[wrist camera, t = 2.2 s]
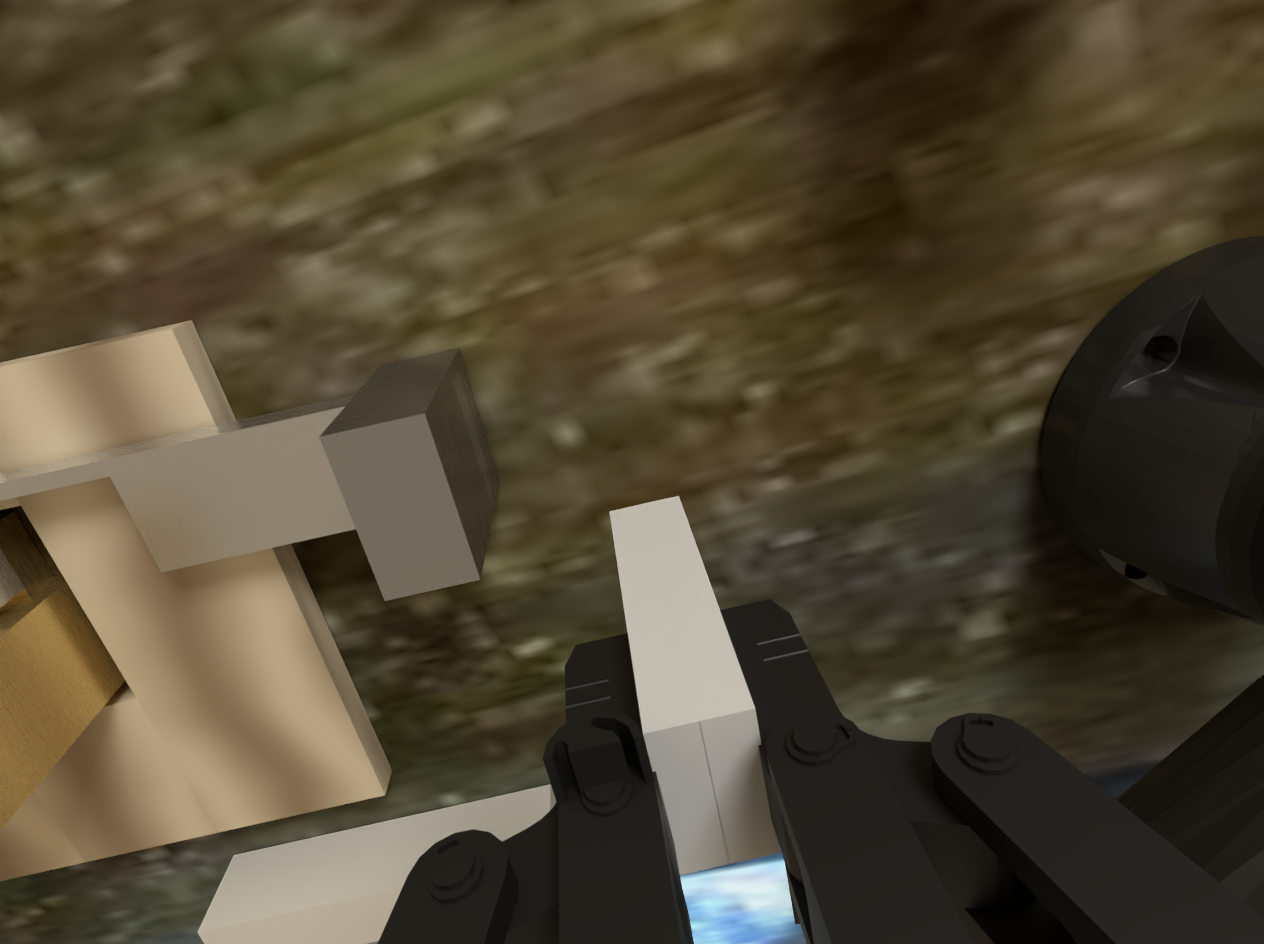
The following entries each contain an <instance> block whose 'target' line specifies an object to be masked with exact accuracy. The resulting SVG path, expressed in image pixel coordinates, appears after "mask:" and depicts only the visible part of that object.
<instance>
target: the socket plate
mask: <svg viewBox="0 0 1264 944" xmlns="http://www.w3.org/2000/svg"><path fill="white" fill-rule="evenodd" d="M233 421H236V419H235V416H234V414H233V412H232V410H231V407H230V405H229V403H228V401H227V398H226V396H225V394H224V392H223V389H222V387H221V385H220V383H219V380H218V378H217V376H216V374H215V371H214V369H213V367H212V365H211V362H210V360H209V358H208V356H207V353H206V351H205V349H204V347H203V344H202V342H201V340H200V338H199V335H198V333H197V331H196V329H195V326H194V324H193V322H192V320H190V321H186V322H181V323H177V324H172V325H168V326H163V327H159V328H154V329H150V330H145V331H141V332H136V333H132V334H127V335H123V336H118V337H114V338H109V339H105V340H100V341H96V342H91V343H87V344H82V345H78V346H73V347H69V348H64V349H60V350H55V351H51V352H46V353H42V354H37V355H33V356H28V357H24V358H19V359H15V360H10V361H6V362H1V363H0V473H4V472H9V471H13V470H18V469H22V468H27V467H31V466H36V465H40V464H45V463H49V462H54V461H58V460H63V459H67V458H72V457H76V456H81V455H85V454H90V453H94V452H99V451H103V450H108V449H112V448H117V447H121V446H126V445H130V444H135V443H139V442H144V441H148V440H153V439H157V438H162V437H166V436H170V435H175V434H179V433H184V432H188V431H193V430H197V429H202V428H206V427H211V426H215V425H220V424H224V423H229V422H233ZM17 506H21V507H22V508H23V510H24V512H25V513H26V515H27V517H28V518H29V520H30V522H31V523H32V525H33V527H34V528H35V530H36V532H37V533H38V535H39V537H40V538H41V540H42V542H43V543H44V545H45V547H46V548H47V550H48V552H49V553H50V555H51V557H52V558H53V560H54V562H55V563H56V565H57V567H58V568H59V570H60V572H61V573H62V575H63V577H64V578H65V580H66V582H67V583H68V585H69V587H70V589H71V590H72V592H73V594H74V595H75V597H76V599H77V600H78V602H79V604H80V605H81V607H82V609H83V610H84V612H85V614H86V615H87V617H88V619H89V620H90V622H91V624H92V625H93V627H94V629H95V630H96V632H97V634H98V635H99V637H100V639H101V640H102V642H103V644H104V645H105V647H106V649H107V650H108V652H109V654H110V655H111V657H112V659H113V660H114V662H115V664H116V665H117V667H118V669H119V670H120V672H121V674H122V675H123V677H124V679H125V680H126V682H127V683H124V684H122V685H121V686H120V687H119V689H118V690H117V691H116V692H115V693H114V695H113V696H112V697H111V698H110V699H109V701H108V702H107V703H106V704H105V706H104V707H103V708H102V709H101V710H100V712H99V713H98V714H97V715H96V716H95V718H94V719H93V720H92V721H91V722H90V724H89V725H88V726H87V727H86V728H85V730H84V731H83V732H82V733H81V734H80V736H79V737H78V738H77V739H76V740H75V742H74V743H73V744H72V745H71V746H70V748H69V749H68V750H67V751H66V752H65V754H64V755H63V756H62V757H61V758H60V760H59V761H58V762H57V763H56V764H55V766H54V767H53V768H52V769H51V770H50V772H49V773H48V774H47V775H46V776H45V778H44V779H43V780H42V781H41V782H40V784H39V785H38V786H37V787H36V788H35V790H34V791H33V792H32V793H31V794H30V796H29V797H28V798H27V799H26V800H25V802H24V803H23V804H22V805H21V806H20V808H19V809H18V810H17V811H16V812H15V814H14V815H13V816H12V817H11V818H10V820H9V821H8V822H7V823H6V824H5V826H4V827H3V828H2V829H1V830H0V881H4V880H9V879H13V878H17V877H22V876H26V875H31V874H35V873H40V872H44V871H49V870H53V869H58V868H62V867H67V866H71V865H76V864H80V863H85V862H89V861H94V860H98V859H102V858H107V857H111V856H116V855H120V854H125V853H129V852H134V851H138V850H143V849H147V848H152V847H156V846H161V845H165V844H170V843H174V842H178V841H183V840H187V839H192V838H196V837H201V836H205V835H210V834H214V833H219V832H223V831H228V830H232V829H237V828H241V827H246V826H250V825H255V824H259V823H263V822H268V821H272V820H277V819H281V818H286V817H290V816H295V815H299V814H304V813H308V812H313V811H317V810H322V809H326V808H331V807H335V806H339V805H344V804H348V803H353V802H357V801H362V800H366V799H371V798H375V797H380V796H384V795H385V794H386V791H387V787H388V784H389V780H390V776H391V773H392V769H391V767H390V765H389V762H388V760H387V758H386V756H385V753H384V751H383V749H382V747H381V744H380V742H379V740H378V738H377V736H376V733H375V731H374V729H373V727H372V724H371V722H370V720H369V718H368V715H367V713H366V711H365V709H364V706H363V704H362V702H361V700H360V697H359V695H358V693H357V691H356V688H355V686H354V684H353V682H352V679H351V677H350V675H349V673H348V670H347V668H346V666H345V664H344V661H343V659H342V657H341V655H340V652H339V650H338V648H337V646H336V643H335V641H334V639H333V637H332V634H331V632H330V630H329V628H328V625H327V623H326V621H325V619H324V616H323V614H322V612H321V610H320V607H319V605H318V603H317V601H316V598H315V596H314V594H313V592H312V589H311V587H310V585H309V583H308V580H307V578H306V576H305V574H304V571H303V569H302V567H301V565H300V562H299V560H298V558H297V556H296V553H295V551H294V549H293V547H292V544H287V545H282V546H278V547H273V548H269V549H265V550H260V551H256V552H251V553H247V554H242V555H238V556H233V557H229V558H224V559H220V560H215V561H211V562H206V563H202V564H197V565H193V566H188V567H184V568H179V569H175V570H170V571H166V572H161V571H160V569H159V567H158V566H157V564H156V562H155V560H154V558H153V556H152V554H151V553H150V551H149V549H148V547H147V545H146V543H145V541H144V539H143V538H142V536H141V534H140V532H139V530H138V528H137V526H136V525H135V523H134V521H133V519H132V517H131V515H130V513H129V511H128V510H127V508H126V506H125V504H124V502H123V500H122V498H121V497H120V495H119V493H118V491H117V489H116V487H115V485H114V483H113V482H112V480H111V478H110V477H105V478H101V479H96V480H92V481H87V482H83V483H78V484H74V485H69V486H65V487H60V488H56V489H51V490H47V491H42V492H38V493H33V494H29V495H24V496H20V497H15V498H11V499H6V500H2V501H0V510H3V509H8V508H12V507H17Z"/></svg>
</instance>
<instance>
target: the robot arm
mask: <svg viewBox="0 0 1264 944" xmlns="http://www.w3.org/2000/svg"><path fill="white" fill-rule="evenodd" d="M1041 474H1042V483H1043V488H1044V493H1045V496H1046V500H1047V503H1048V506H1049V508H1050V511H1051V513H1052V515H1053V517H1054V519H1055V521H1056V522H1057V524H1058V526H1059V527H1060V529H1061V530H1062V531H1063V533H1064V534H1065V535H1066V536H1067V538H1068V539H1069V540H1070V541H1071V542H1072V543H1073V544H1074V545H1076V546H1077V547H1078V548H1079V549H1080V550H1082V551H1083V552H1084V553H1085V554H1087V555H1088V556H1089V557H1091V558H1092V559H1093V560H1095V561H1096V562H1097V563H1099V564H1100V565H1101V566H1103V567H1104V568H1105V569H1107V570H1108V571H1110V572H1111V573H1113V574H1114V575H1116V576H1117V577H1119V578H1121V579H1122V580H1124V581H1126V582H1128V583H1130V584H1132V585H1134V586H1137V587H1139V588H1141V589H1144V590H1147V591H1150V592H1153V593H1156V594H1160V595H1164V596H1168V597H1171V598H1173V599H1176V600H1179V601H1183V602H1186V603H1189V604H1192V605H1196V606H1199V607H1202V608H1206V609H1209V610H1212V611H1216V612H1219V613H1222V614H1226V615H1229V616H1232V617H1235V618H1239V619H1242V620H1245V621H1249V622H1252V623H1255V624H1259V625H1262V626H1264V236H1257V237H1248V238H1243V239H1237V240H1233V241H1229V242H1225V243H1221V244H1218V245H1215V246H1212V247H1209V248H1206V249H1204V250H1201V251H1199V252H1197V253H1194V254H1192V255H1190V256H1188V257H1186V258H1184V259H1182V260H1179V261H1178V262H1176V263H1174V264H1172V265H1170V266H1169V267H1167V268H1165V269H1163V270H1162V271H1160V272H1159V273H1157V274H1156V275H1154V276H1153V277H1151V278H1150V279H1148V280H1147V281H1146V282H1144V283H1143V284H1142V285H1140V286H1139V287H1138V288H1136V289H1135V290H1134V291H1133V292H1131V293H1130V294H1129V295H1128V296H1127V297H1125V298H1124V299H1123V300H1122V301H1121V302H1120V303H1119V304H1118V305H1117V306H1116V307H1115V308H1114V309H1113V310H1112V311H1111V312H1110V313H1109V314H1108V315H1107V316H1106V317H1105V318H1104V319H1103V320H1102V321H1101V322H1100V324H1099V325H1098V326H1097V327H1096V328H1095V329H1094V330H1093V332H1092V333H1091V334H1090V336H1089V337H1088V338H1087V339H1086V341H1085V342H1084V343H1083V345H1082V346H1081V348H1080V349H1079V351H1078V352H1077V354H1076V355H1075V357H1074V358H1073V360H1072V362H1071V363H1070V365H1069V367H1068V368H1067V370H1066V372H1065V374H1064V376H1063V378H1062V380H1061V382H1060V384H1059V386H1058V389H1057V391H1056V393H1055V395H1054V398H1053V401H1052V404H1051V406H1050V409H1049V413H1048V416H1047V420H1046V424H1045V429H1044V433H1043V440H1042V448H1041ZM609 512H610V518H611V525H612V532H613V538H614V545H615V552H616V558H617V565H618V571H619V578H620V585H621V591H622V598H623V605H624V611H625V618H626V625H627V631H628V633H627V634H623V635H618V636H614V637H609V638H605V639H600V640H596V641H592V642H587V643H583V644H578V645H576V646H575V648H574V650H573V652H572V654H571V656H570V658H569V660H568V661H567V663H566V665H565V688H566V724H565V725H563V726H562V727H561V728H559V729H558V730H557V731H556V732H555V734H554V735H553V736H552V738H551V739H550V740H549V742H548V743H547V745H546V749H545V753H544V757H543V761H544V764H545V767H546V769H547V772H548V775H549V778H550V781H551V784H552V787H553V790H554V793H555V796H556V799H557V803H556V804H555V805H554V807H553V808H552V809H551V810H550V811H549V812H548V813H547V814H546V815H545V816H544V817H543V818H542V819H541V820H539V821H538V822H536V823H535V824H533V825H532V826H530V827H528V828H527V829H525V830H523V831H521V832H519V833H517V834H515V835H514V836H512V837H510V838H508V839H506V840H504V841H501V840H499V839H498V838H497V837H496V836H494V835H493V834H492V833H490V832H486V831H480V830H475V829H472V830H467V831H462V832H457V833H453V834H451V835H450V836H448V837H446V838H444V839H442V840H440V841H438V842H436V843H435V844H434V845H433V846H431V847H430V848H429V849H428V850H427V851H426V852H425V853H424V854H423V855H421V856H420V857H419V859H418V860H417V862H416V863H415V865H414V867H413V868H412V870H411V871H410V873H409V874H408V876H407V878H406V881H405V883H404V885H403V887H402V890H401V892H400V894H399V896H398V899H397V901H396V903H395V905H394V908H393V910H392V912H391V914H390V917H389V919H388V921H387V923H386V926H385V928H384V930H383V932H382V935H381V937H380V939H379V941H378V944H694V942H693V937H692V931H691V925H690V920H689V914H688V910H687V906H686V902H685V898H684V894H683V890H682V885H681V880H680V875H684V874H688V873H692V872H697V871H701V870H705V869H710V868H714V867H719V866H723V865H727V864H732V863H736V862H740V861H745V860H749V859H754V858H758V857H762V856H767V855H771V854H775V853H780V849H779V845H780V848H781V852H782V855H783V858H784V861H785V865H786V871H787V877H788V883H789V889H790V895H791V901H792V907H793V913H794V919H795V924H801V927H802V930H803V933H804V936H805V939H806V943H807V944H973V943H974V944H1264V675H1263V676H1261V678H1262V679H1261V678H1258V679H1257V680H1256V681H1255V682H1254V683H1252V684H1251V685H1250V686H1249V687H1248V688H1247V689H1245V690H1244V691H1243V692H1242V693H1241V694H1240V695H1238V696H1237V697H1236V698H1235V699H1234V700H1233V701H1231V702H1230V703H1229V704H1228V705H1227V706H1226V707H1224V708H1223V709H1222V710H1221V711H1220V712H1219V713H1217V714H1216V715H1215V716H1214V717H1213V718H1212V719H1210V720H1209V721H1208V722H1207V723H1206V724H1205V725H1203V726H1202V727H1201V728H1200V729H1199V730H1198V731H1196V732H1195V733H1194V734H1193V735H1192V736H1191V737H1189V738H1188V739H1187V740H1186V741H1185V742H1184V743H1182V744H1181V745H1180V746H1179V747H1178V748H1177V749H1175V750H1174V751H1173V752H1172V753H1171V754H1170V755H1168V756H1167V757H1166V758H1165V759H1164V760H1162V761H1161V762H1160V763H1159V764H1158V765H1156V766H1155V767H1154V768H1153V769H1152V770H1150V771H1149V772H1148V773H1147V774H1146V775H1145V776H1143V777H1142V778H1141V779H1140V780H1139V781H1137V782H1136V783H1135V784H1134V785H1133V786H1131V787H1130V788H1129V789H1128V790H1127V791H1125V792H1124V793H1123V794H1122V795H1121V796H1119V797H1118V798H1117V799H1114V798H1113V797H1112V796H1111V795H1109V794H1108V793H1107V792H1106V791H1104V790H1103V789H1102V788H1101V787H1099V786H1098V785H1097V784H1096V783H1094V782H1093V781H1092V780H1091V779H1089V778H1088V777H1087V776H1086V775H1084V774H1083V773H1082V772H1081V771H1079V770H1078V769H1077V768H1076V767H1074V766H1073V765H1072V764H1071V763H1069V762H1068V761H1067V760H1066V759H1064V758H1063V757H1062V756H1061V755H1059V754H1058V753H1057V752H1056V751H1054V750H1053V749H1052V748H1051V747H1049V746H1048V745H1047V744H1046V743H1044V742H1043V741H1042V740H1041V739H1040V738H1038V737H1037V736H1036V735H1035V734H1033V733H1032V732H1031V731H1029V730H1028V729H1026V728H1024V727H1023V726H1021V725H1019V724H1017V723H1016V722H1014V721H1012V720H1010V719H1006V718H1003V717H999V716H996V715H992V714H976V713H968V714H964V715H960V716H956V717H953V718H950V719H948V720H947V721H946V722H944V723H943V724H941V725H940V726H939V727H937V729H936V731H935V733H934V735H933V737H932V739H931V742H914V741H896V740H888V739H882V738H879V737H875V736H872V735H869V734H867V733H865V732H863V731H861V730H859V729H858V727H857V726H856V725H855V724H854V723H853V722H852V721H850V720H848V719H846V718H845V717H844V716H843V715H842V714H841V712H840V711H839V709H838V707H837V705H836V703H835V701H834V699H833V698H832V696H831V694H830V692H829V690H828V688H827V686H826V684H825V682H824V680H823V678H822V676H821V674H820V672H819V670H818V668H817V666H816V664H815V662H814V660H813V658H812V656H811V654H810V652H808V649H807V646H806V644H805V643H804V641H803V639H802V637H801V636H800V634H799V631H798V629H797V627H796V625H795V623H794V621H793V619H792V617H791V615H790V613H789V612H787V611H786V610H784V609H783V608H781V607H780V606H779V605H777V604H776V603H774V602H773V601H772V600H770V599H768V600H764V601H760V602H755V603H751V604H746V605H742V606H737V607H733V608H729V609H724V610H720V609H719V606H718V604H717V601H716V598H715V595H714V592H713V590H712V587H711V584H710V581H709V579H708V576H707V573H706V570H705V567H704V565H703V562H702V559H701V556H700V554H699V551H698V548H697V545H696V542H695V540H694V537H693V534H692V531H691V529H690V526H689V523H688V520H687V517H686V515H685V512H684V509H683V506H682V504H681V501H680V498H679V496H676V497H671V498H667V499H662V500H658V501H654V502H649V503H645V504H640V505H636V506H631V507H627V508H622V509H618V510H614V511H609ZM778 842H779V844H778Z"/></svg>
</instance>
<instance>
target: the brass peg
mask: <svg viewBox="0 0 1264 944" xmlns="http://www.w3.org/2000/svg"><path fill="white" fill-rule="evenodd" d="M0 549H1V551H2V552H3V554H4V555H5V557H6V559H7V560H8V562H9V563H10V565H11V567H12V568H13V570H14V571H15V573H16V575H17V576H18V578H19V579H20V581H21V582H22V584H23V586H24V587H25V588H24V589H23V590H22V591H21V592H19V593H18V594H17V595H16V596H15V597H13V598H12V599H11V600H10V601H8V602H7V603H6V604H5V605H3V606H2V607H1V608H0V830H1V829H2V828H3V827H4V826H5V824H6V823H7V822H8V821H9V820H10V818H11V817H12V816H13V815H14V814H15V812H16V811H17V810H18V809H19V808H20V806H21V805H22V804H23V803H24V802H25V800H26V799H27V798H28V797H29V796H30V794H31V793H32V792H33V791H34V790H35V788H36V787H37V786H38V785H39V784H40V782H41V781H42V780H43V779H44V778H45V776H46V775H47V774H48V773H49V772H50V770H51V769H52V768H53V767H54V766H55V764H56V763H57V762H58V761H59V760H60V758H61V757H62V756H63V755H64V754H65V752H66V751H67V750H68V749H69V748H70V746H71V745H72V744H73V743H74V742H75V740H76V739H77V738H78V737H79V736H80V734H81V733H82V732H83V731H84V730H85V728H86V727H87V726H88V725H89V724H90V722H91V721H92V720H93V719H94V718H95V716H96V715H97V714H98V713H99V712H100V710H101V709H102V708H103V707H104V706H105V704H106V703H107V702H108V701H109V699H110V698H111V697H112V696H113V695H114V693H115V692H116V691H117V690H118V689H119V687H120V686H121V685H122V684H123V683H124V681H125V679H124V677H123V675H122V674H121V672H120V670H119V669H118V667H117V665H116V664H115V662H114V660H113V659H112V657H111V655H110V654H109V652H108V650H107V649H106V647H105V645H104V644H103V642H102V640H101V639H100V637H99V635H98V634H97V632H96V630H95V629H94V627H93V625H92V624H91V622H90V620H89V619H88V617H87V615H86V614H85V612H84V610H83V609H82V607H81V605H80V604H79V602H78V600H77V599H76V597H75V595H74V594H73V592H72V590H71V589H70V587H69V585H68V583H67V582H66V580H65V578H64V577H63V575H57V576H53V574H52V572H51V571H50V569H49V568H48V566H47V564H46V563H45V561H44V559H43V558H42V556H41V554H40V553H39V551H38V549H37V548H36V546H35V544H34V543H33V541H32V539H31V538H30V536H29V535H28V533H27V531H26V530H25V528H24V526H23V525H22V523H21V521H20V520H19V518H18V516H17V515H16V513H15V511H14V512H10V513H5V514H1V515H0Z"/></svg>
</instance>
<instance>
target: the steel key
mask: <svg viewBox="0 0 1264 944" xmlns="http://www.w3.org/2000/svg"><path fill="white" fill-rule="evenodd" d="M105 477H110V478H111V480H112V482H113V483H114V485H115V487H116V489H117V491H118V493H119V495H120V497H121V498H122V500H123V502H124V504H125V506H126V508H127V510H128V511H129V513H130V515H131V517H132V519H133V521H134V523H135V525H136V526H137V528H138V530H139V532H140V534H141V536H142V538H143V539H144V541H145V543H146V545H147V547H148V549H149V551H150V553H151V554H152V556H153V558H154V560H155V562H156V564H157V566H158V567H159V569H160V571H161V572H166V571H170V570H175V569H179V568H184V567H188V566H193V565H197V564H202V563H206V562H211V561H215V560H220V559H224V558H229V557H233V556H238V555H242V554H247V553H251V552H256V551H260V550H265V549H269V548H273V547H278V546H282V545H287V544H291V543H296V542H300V541H305V540H309V539H314V538H318V537H323V536H327V535H332V534H336V533H341V532H345V531H350V530H354V529H356V531H357V533H358V536H359V538H360V541H361V543H362V546H363V548H364V551H365V553H366V555H367V558H368V560H369V563H370V565H371V568H372V570H373V573H374V575H375V578H376V580H377V583H378V585H379V588H380V590H381V593H382V595H383V598H384V600H385V601H387V600H392V599H396V598H401V597H405V596H410V595H414V594H419V593H423V592H428V591H432V590H437V589H441V588H446V587H450V586H455V585H459V584H464V583H468V582H473V581H477V580H480V579H481V574H482V569H483V563H484V558H485V553H486V548H487V542H488V537H489V532H490V527H491V521H492V516H493V511H494V506H495V500H496V495H497V490H498V484H499V477H498V474H497V470H496V467H495V464H494V460H493V457H492V454H491V451H490V447H489V444H488V441H487V437H486V434H485V431H484V427H483V424H482V421H481V417H480V414H479V411H478V408H477V404H476V401H475V398H474V394H473V391H472V388H471V384H470V381H469V378H468V375H467V371H466V368H465V365H464V361H463V358H462V355H461V351H460V348H457V349H453V350H448V351H444V352H439V353H435V354H430V355H426V356H421V357H417V358H413V359H408V360H404V361H399V362H395V363H390V364H386V365H381V366H380V367H379V368H378V369H377V370H376V372H375V373H374V374H373V375H372V376H371V377H370V379H369V380H368V381H367V382H366V383H365V384H364V385H363V387H362V388H361V389H360V390H359V391H358V392H357V394H355V395H350V396H346V397H341V398H337V399H332V400H328V401H323V402H319V403H314V404H310V405H305V406H301V407H296V408H292V409H287V410H283V411H278V412H274V413H269V414H265V415H260V416H256V417H251V418H247V419H242V420H238V421H233V422H229V423H224V424H220V425H215V426H211V427H206V428H202V429H197V430H193V431H188V432H184V433H179V434H175V435H170V436H166V437H162V438H157V439H153V440H148V441H144V442H139V443H135V444H130V445H126V446H121V447H117V448H112V449H108V450H103V451H99V452H94V453H90V454H85V455H81V456H76V457H72V458H67V459H63V460H58V461H54V462H49V463H45V464H40V465H36V466H31V467H27V468H22V469H18V470H13V471H9V472H4V473H0V501H2V500H6V499H11V498H15V497H20V496H24V495H29V494H33V493H38V492H42V491H47V490H51V489H56V488H60V487H65V486H69V485H74V484H78V483H83V482H87V481H92V480H96V479H101V478H105ZM24 588H25V587H24V586H23V584H22V582H21V581H20V579H19V578H18V576H17V575H16V573H15V571H14V570H13V568H12V567H11V565H10V563H9V562H8V560H7V559H6V557H5V555H4V554H3V552H2V551H1V549H0V608H1V607H2V606H3V605H5V604H6V603H7V602H8V601H10V600H11V599H12V598H13V597H15V596H16V595H17V594H18V593H19V592H21V591H22V590H23V589H24Z"/></svg>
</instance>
